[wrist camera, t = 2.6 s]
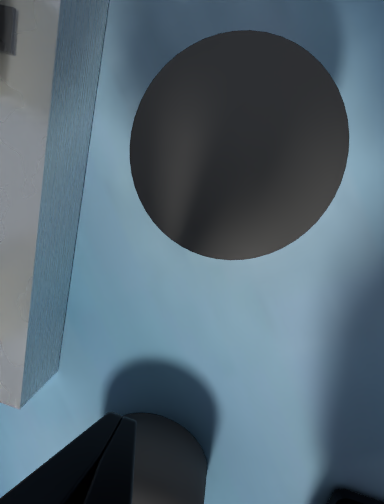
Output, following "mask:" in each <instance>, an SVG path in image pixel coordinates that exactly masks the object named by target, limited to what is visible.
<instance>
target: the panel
mask: <svg viewBox="0 0 384 504" xmlns="http://www.w3.org/2000/svg"><path fill="white" fill-rule="evenodd" d="M108 4H109V0H0V402H1V403H3V404H6V405H9V406H12V407H14V408H17V409H21V408H22V407H23V406H24V405H25V404H26V403H27V402H28V401H29V400H30V399H31V398H32V397H33V396H34V395H35V394H36V393H37V392H38V391H39V390H40V389H41V388H42V387H43V386H44V385H45V384H46V382H47V381H48V380H49V379H50V378H51V377H52V376H53V375H54V374H55V373H56V372H57V371H58V364H59V356H60V349H61V342H62V335H63V328H64V320H65V313H66V306H67V299H68V292H69V284H70V277H71V270H72V263H73V256H74V248H75V241H76V234H77V227H78V220H79V212H80V205H81V198H82V191H83V184H84V176H85V169H86V162H87V155H88V148H89V141H90V133H91V126H92V119H93V112H94V105H95V97H96V90H97V83H98V76H99V69H100V61H101V54H102V47H103V40H104V33H105V25H106V18H107V11H108Z"/></svg>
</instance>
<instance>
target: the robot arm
mask: <svg viewBox="0 0 384 504" xmlns="http://www.w3.org/2000/svg"><path fill="white" fill-rule="evenodd" d="M136 428H137V422H136V420H134V419H131V418H128V417H123V416H122V415H120V414H117V413H114V412H109V413H107V414H106V415H105V416H103V417H102V418H101V419H99V420H98V421H97V422H96V423H94V424H93V425H92V426H91V427H89V428H88V429H87V430H86V431H84V432H83V433H82V434H81V435H79V436H78V437H77V438H76V439H74V440H73V441H72V442H71V443H69V444H68V445H67V446H65V447H64V448H63V449H62V450H60V451H59V452H58V453H57V454H55V455H54V456H53V457H52V458H50V459H49V460H48V461H47V462H45V463H44V464H43V465H42V466H40V467H39V468H38V469H36V470H35V471H34V472H33V473H31V474H30V475H29V476H28V477H26V478H25V479H24V480H23V481H21V482H20V483H19V484H18V485H16V486H15V487H14V488H13V489H11V490H10V491H9V492H7V493H6V494H5V495H4V496H2V497H1V498H0V504H132V495H133V478H134V461H135V444H136ZM327 504H384V502H381V501H378V500H375V499H373V498H370V497H367V496H364V495H361V494H358V493H356V492H353V491H350V490H347V489H338V490H335V491H334V492H333V493H332V495H331V497H330V499H329V501H328V503H327Z"/></svg>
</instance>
